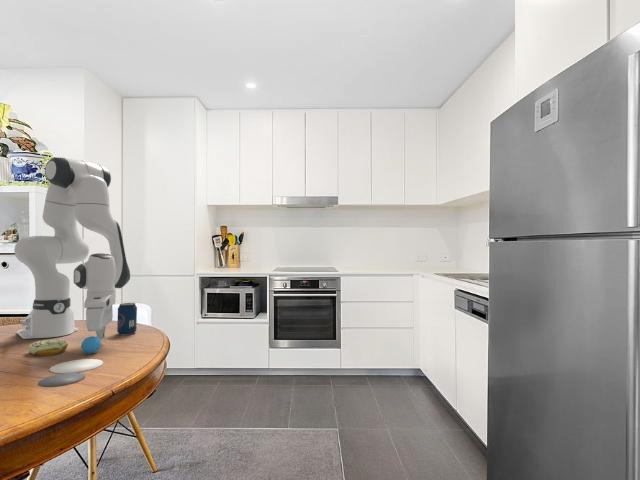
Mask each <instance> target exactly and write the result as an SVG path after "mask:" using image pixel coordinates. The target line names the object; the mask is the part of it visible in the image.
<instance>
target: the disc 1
mask: <svg viewBox="0 0 640 480" xmlns="http://www.w3.org/2000/svg"><path fill="white" fill-rule="evenodd" d="M85 378H86V375H85V374H84V373H83V372H76V373H57V374H53V375H50V376H47V377H44V378H42V379H40V380H39V381H38V385H39V386H40V387H45V388H47V387H48V388H51V387H53V388H54V387H55V388H56V387H61V386H68V385H72V384H75V383H78V382H81V381H82V380H84V379H85Z"/></svg>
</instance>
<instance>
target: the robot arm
mask: <svg viewBox="0 0 640 480" xmlns="http://www.w3.org/2000/svg"><path fill="white" fill-rule="evenodd" d="M44 175H45V177H46V180H47V181H48V182H49V186H47V187H48V188H47V190H46V195H45V201H44V206H43V212H42V216H41V217H42V221H44V223H45V225H47V226H49V227H50V228H52V229H53V230H54V236H51V235H49V236H48V235H32V236H26V237H25V236H24V237H21V238H20V239H19V240H17V242H16V244H15V245H14V249H13V250H14V255H15V258H16V259H17V260H18V261H19V262H20V263H23V265H24V266H26V267H27V268H28V269H29V270H30V272H31V273H32V276H33V279H34V286H35V287H34V288H35V290H34V291H35V293H34V294H35V298H34V300H33V303H32V308H31V309H32V310H31V311H30V312H29V314H28V315H27V316H26V317H25V318H24V319H22V320H21V321H20V322H21V323H20V324H21V326H22V327H24V328H23V329H18V330H17V332H16V334H17V335H18V336H19V337H20V338H21V339H22V340H23V339H24V340H25V339H28V340H29V339H45V338H46V339H47V338H48V339H49V338H55V337H62V336H67V335H70V334H73V333H74V332H76V331H79V330H78V327H75V313H74V312H75V311H73V310H72V309H71V308H70V307H71V304H72V301H71V297H70V286H71V283H70V279H69V277H68V276H67V275H66V274H64V273H62V272H60V271H59V270H58V268H57V265H59V264H63V265H65V264H75V263H78V262H83V261H84V260H86V258H88V260H87V261H85V262H83V263H80V264H78V266H76V267H75V268H74V270H73V284H74V285H75V286H76V287H77V288H79V289H83V290H86V298H85V301H84V303H83V304H84V305H83V307H84V309H85V310H86V311H85V319H86V329H87V331H88V332H95V335H96V337H97V338H99V339H100V341H102V340H103V339H104V338H105V334H106V333H105V332H106V329H107V325H109V323H111V322H112V321H113V316H114V315H113V305H115V304H116V295H117V291H116V289H122V288H123V287H124V286H125V285H127V284H128V283H129V281H130V280H131V271H130V267H129V263H128V261H127V257H126V251H125V246H124V245H125V244H124V241H123V240H124V239H123V236H122V235H123V234H122V232H121V231H122V230H121V227H120V224H119V222H118V221H116V220H115V219H114V218H113V216H112V214H111V210H110V193H109V187H110V184H111V181H112V175H111V173H110V170H109V169H108V168H106V167H104V166H103V165H100V164H95V163H92V162H88V161H84V160H78V159H77V160H76V159H70V158H65V157H52V158H51V159H49V160H48V162H46V165H45V168H44ZM77 222H78V224H80V225H81V226H82V227H83V228H85V229H87V230H89V231H91V232H94V233H97V234H99V235H101V236H102V237H104V238H106V240H107V242H108V245H109V251H110V254H109V253H102V252H101V253H92V254H90V255H89V252H90V247H89V244H88V242H87V241H86V240H85V239H84V238H83V237H82V236H81V235H80V233H79V230H78V226H77ZM88 255H89V257H88ZM56 264H57V265H56Z"/></svg>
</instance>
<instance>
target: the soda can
mask: <svg viewBox="0 0 640 480" xmlns="http://www.w3.org/2000/svg"><path fill="white" fill-rule="evenodd" d="M137 318H138V307H137V305H136V303H135V302H124V303H123V302H122V303H119V306H118V308H117V321H116V322H117V328H116V329H117V331H116V332H117V333H118V335H120V336H130V335H133V334H134V335H135V334H136V332H137V324H138V323H137V320H138V319H137Z"/></svg>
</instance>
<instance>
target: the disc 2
mask: <svg viewBox="0 0 640 480" xmlns="http://www.w3.org/2000/svg"><path fill="white" fill-rule="evenodd" d="M103 364H104V361H103V360H101V359H96V358H95V359H94V358H83V359H82V358H81V359H75V360H69V361H63V362H61V363H58V364H54V365H53V366H50V368H49V371H50V372H51V373H53V374H54V373H55V374H64V373H83V372H87V371H91V370H93V369H97V368H99V367H101V366H102V365H103Z"/></svg>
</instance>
